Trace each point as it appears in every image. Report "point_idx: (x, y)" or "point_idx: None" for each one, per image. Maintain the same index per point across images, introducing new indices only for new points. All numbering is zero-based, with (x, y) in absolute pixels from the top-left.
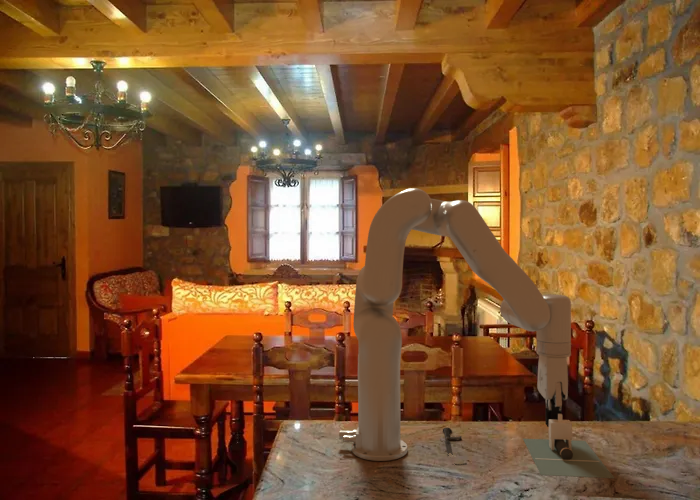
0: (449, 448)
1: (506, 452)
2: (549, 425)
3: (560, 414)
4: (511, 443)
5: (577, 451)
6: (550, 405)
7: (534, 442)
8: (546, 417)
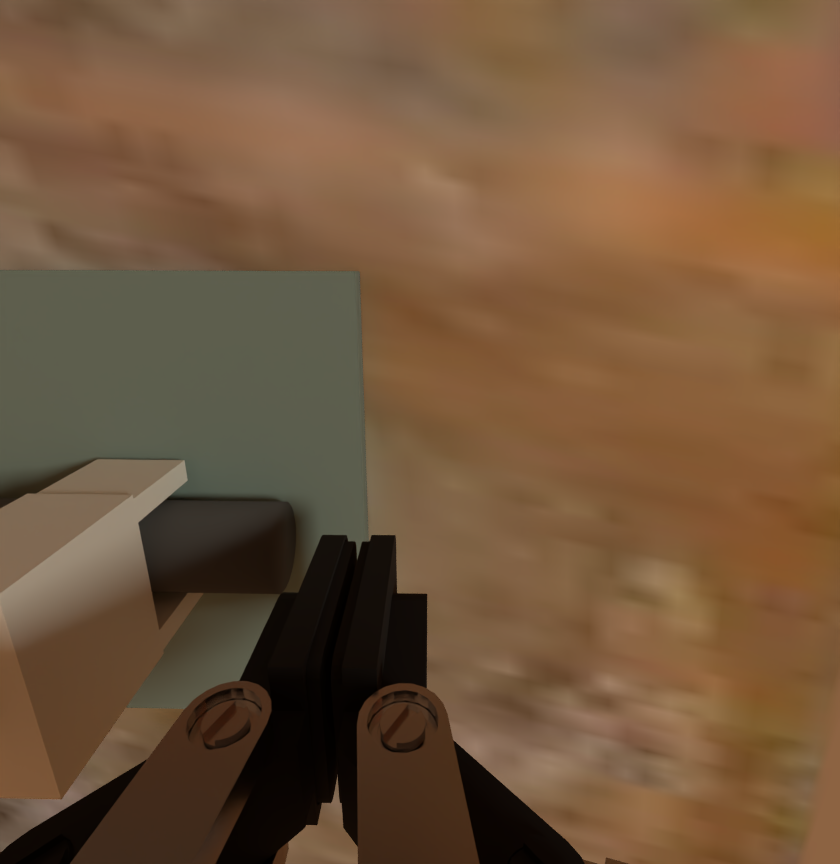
0: None
1: (62, 58)
2: (7, 554)
3: None
4: (308, 152)
5: None
6: (139, 793)
7: (268, 360)
8: (366, 586)
